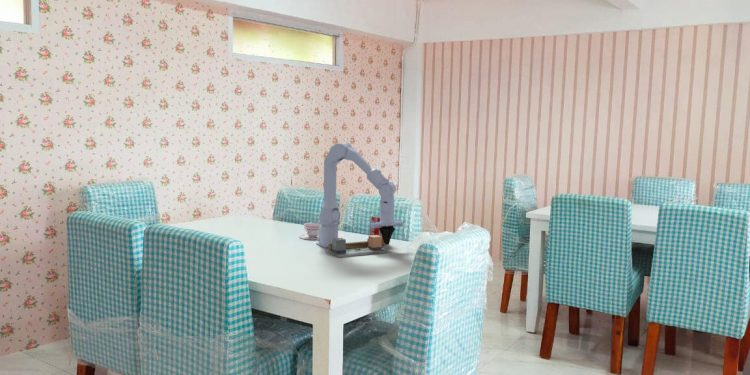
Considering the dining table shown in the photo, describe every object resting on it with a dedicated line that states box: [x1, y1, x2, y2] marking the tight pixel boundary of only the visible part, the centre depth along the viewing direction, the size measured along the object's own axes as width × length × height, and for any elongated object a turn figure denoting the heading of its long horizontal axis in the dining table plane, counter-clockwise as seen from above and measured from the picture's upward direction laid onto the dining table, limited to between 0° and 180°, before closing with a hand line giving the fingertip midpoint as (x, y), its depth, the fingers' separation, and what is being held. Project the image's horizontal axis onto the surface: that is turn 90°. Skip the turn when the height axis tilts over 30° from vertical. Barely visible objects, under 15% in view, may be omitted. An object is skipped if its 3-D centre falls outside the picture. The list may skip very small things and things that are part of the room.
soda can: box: [369, 214, 387, 245], centre depth 276 cm, size 7×7×12 cm
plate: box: [325, 247, 389, 258], centre depth 258 cm, size 12×22×1 cm, turn 117°
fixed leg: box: [332, 237, 347, 253], centre depth 255 cm, size 7×4×5 cm, turn 27°
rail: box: [328, 240, 368, 250], centre depth 262 cm, size 2×20×2 cm, turn 117°
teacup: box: [298, 222, 321, 241], centre depth 289 cm, size 12×12×6 cm
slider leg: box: [366, 235, 383, 249], centre depth 262 cm, size 7×4×5 cm, turn 27°
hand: (386, 244), depth 264 cm, fingers closed
